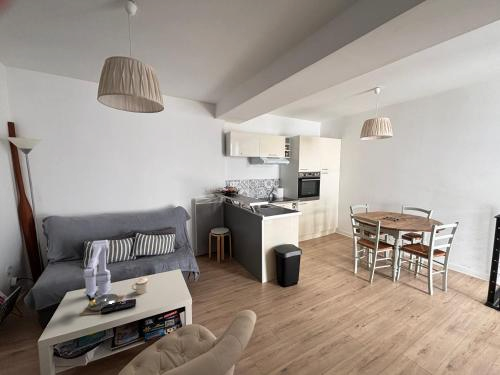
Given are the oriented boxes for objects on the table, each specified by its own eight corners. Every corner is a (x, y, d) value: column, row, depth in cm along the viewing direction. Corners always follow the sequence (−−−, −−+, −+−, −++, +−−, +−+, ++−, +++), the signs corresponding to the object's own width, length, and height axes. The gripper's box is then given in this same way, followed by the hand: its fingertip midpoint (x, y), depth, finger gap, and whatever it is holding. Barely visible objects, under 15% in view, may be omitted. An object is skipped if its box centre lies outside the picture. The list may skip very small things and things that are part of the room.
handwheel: (90, 301, 155) (89, 293, 155) (118, 293, 165) (117, 286, 164) (86, 314, 140) (86, 306, 139) (117, 305, 149) (117, 297, 149)
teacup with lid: (148, 287, 176) (148, 274, 175) (148, 292, 168) (147, 279, 167) (132, 290, 171) (132, 277, 171) (131, 296, 163) (130, 282, 162)
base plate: (97, 298, 161) (97, 296, 161) (124, 296, 163) (124, 294, 163) (79, 315, 141) (79, 314, 141) (110, 313, 144) (110, 311, 144)
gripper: (82, 282, 149) (83, 300, 150) (84, 291, 138) (85, 310, 139) (94, 279, 154) (95, 296, 155) (97, 287, 143) (98, 305, 144)
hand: (91, 302), depth 147 cm, fingers closed
